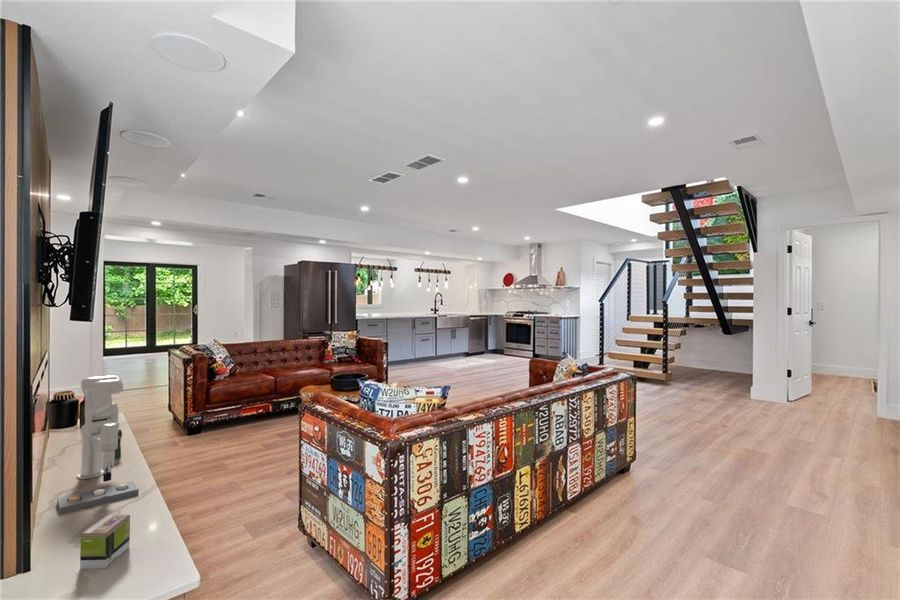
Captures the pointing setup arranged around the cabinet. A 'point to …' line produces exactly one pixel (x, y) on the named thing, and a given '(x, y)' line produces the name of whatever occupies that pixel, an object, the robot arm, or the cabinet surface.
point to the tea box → (104, 541)
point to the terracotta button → (74, 498)
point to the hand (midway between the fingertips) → (107, 480)
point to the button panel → (96, 497)
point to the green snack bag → (118, 450)
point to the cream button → (99, 492)
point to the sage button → (121, 487)
